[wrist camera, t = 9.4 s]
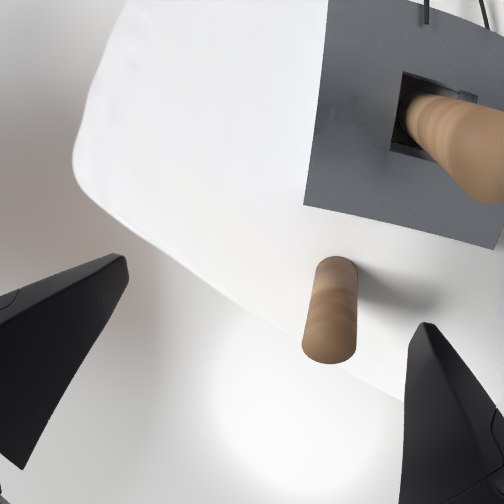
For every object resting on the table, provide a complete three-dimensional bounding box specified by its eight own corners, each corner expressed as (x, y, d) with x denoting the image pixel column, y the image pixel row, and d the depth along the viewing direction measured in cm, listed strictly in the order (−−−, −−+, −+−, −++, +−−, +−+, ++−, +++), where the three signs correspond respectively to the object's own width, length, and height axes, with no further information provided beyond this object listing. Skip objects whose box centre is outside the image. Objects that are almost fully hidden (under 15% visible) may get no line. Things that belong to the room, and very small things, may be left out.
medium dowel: (361, 261, 21) (363, 332, 16) (351, 294, 23) (347, 368, 17) (320, 252, 22) (307, 321, 16) (312, 286, 24) (297, 358, 18)
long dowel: (449, 100, 14) (539, 129, 6) (439, 146, 16) (515, 214, 8) (402, 86, 15) (464, 95, 7) (394, 134, 17) (442, 190, 8)
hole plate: (517, 57, 11) (541, 57, 9) (478, 227, 18) (493, 250, 15) (331, -2, 13) (329, -16, 11) (308, 186, 20) (303, 204, 17)
